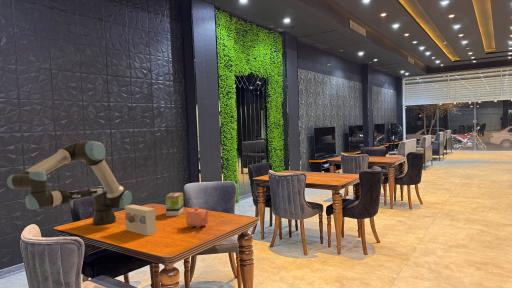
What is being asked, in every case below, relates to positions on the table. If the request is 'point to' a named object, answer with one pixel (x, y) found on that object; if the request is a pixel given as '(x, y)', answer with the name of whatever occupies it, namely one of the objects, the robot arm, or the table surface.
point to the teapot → (196, 217)
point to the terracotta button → (127, 215)
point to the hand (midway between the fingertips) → (101, 190)
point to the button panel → (136, 226)
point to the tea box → (174, 204)
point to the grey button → (131, 219)
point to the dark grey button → (142, 219)
